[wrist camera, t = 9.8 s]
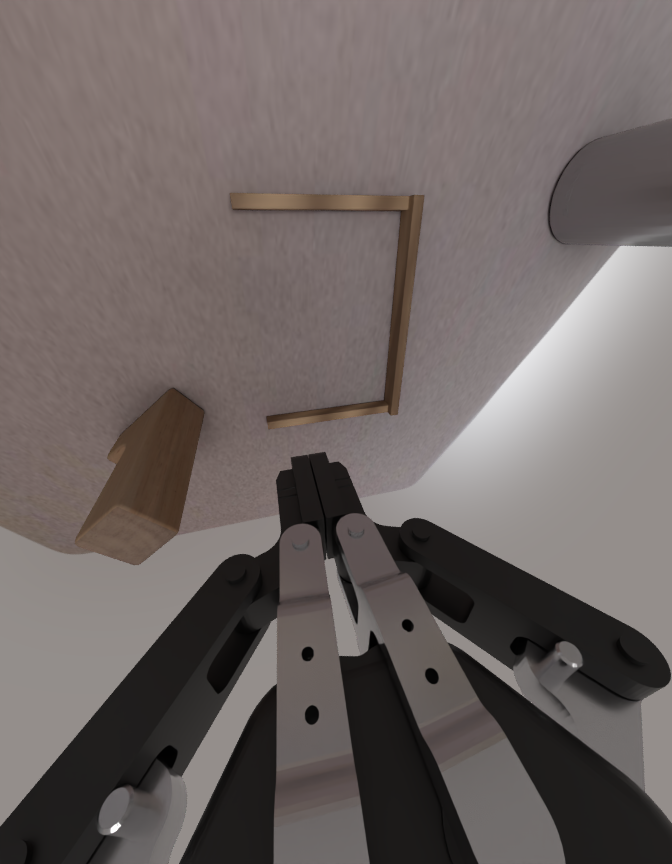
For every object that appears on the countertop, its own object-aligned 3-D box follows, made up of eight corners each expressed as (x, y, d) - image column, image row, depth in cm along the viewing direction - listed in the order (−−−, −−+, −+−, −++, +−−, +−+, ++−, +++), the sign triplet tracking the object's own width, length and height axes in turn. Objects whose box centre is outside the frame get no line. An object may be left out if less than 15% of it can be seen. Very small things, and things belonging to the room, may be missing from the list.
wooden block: (155, 456, 36) (97, 601, 22) (119, 435, 34) (26, 584, 19) (206, 411, 35) (180, 534, 20) (172, 385, 32) (115, 506, 18)
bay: (411, 198, 29) (424, 195, 27) (390, 405, 41) (397, 414, 39) (230, 195, 25) (229, 191, 23) (267, 423, 38) (269, 433, 36)
